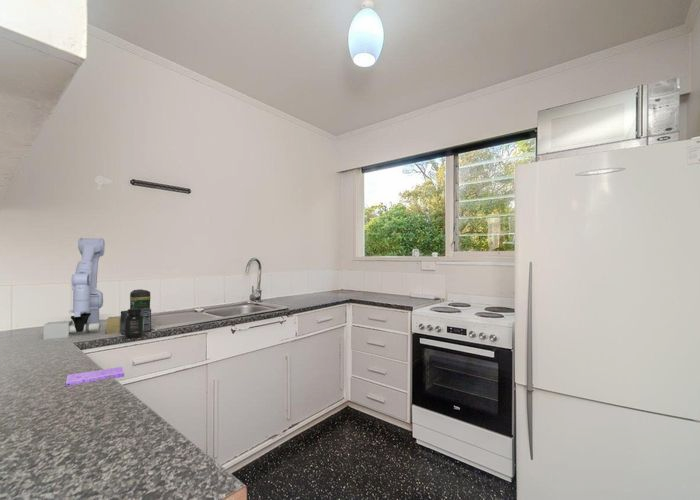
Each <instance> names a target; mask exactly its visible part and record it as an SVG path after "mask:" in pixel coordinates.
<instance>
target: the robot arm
mask: <svg viewBox="0 0 700 500" xmlns="http://www.w3.org/2000/svg"><path fill="white" fill-rule="evenodd" d="M105 247H106V241H105V239H104V238H89V237H88V238H86V237H80V238H78V241H77V248H78V250H79V253H80V255H81V260H79V261H77V265H76V268H75V271H74V274H72V276H71V280H70V281H71V289H72V310H69V311H68V313H70V314H71V313H72V314H73V315H70V319H71V321H73V325H75V329H76V332H75V333H83V330H84V325H85V324H86V323H90V324H94V323H100V309H101V308H102V307H103V306H104V294H103V292H102V291H101V290H99V289H97V287H98V286H97V284H98V272H99V271H98V269H99V260H100V257H103V256H104V254H105ZM100 326H102V323H100Z"/></svg>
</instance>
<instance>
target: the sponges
mask: <svg viewBox="0 0 700 500" xmlns="http://www.w3.org/2000/svg"><path fill="white" fill-rule="evenodd" d="M109 375H110V376H111V377H113V378H114V379H119V378H123V377H125V371H124V368H123V366H118V367H112V368H106V369H99V370H93V371H86V372H80V373H78V372H77V373H71V374H67V376H66V381H65V387H66V386H70V385H75V384H81V383H86V382H92V381H96V380H101V379H107V378H110V376H109ZM114 379H113V380H114ZM81 385H82V384H81Z"/></svg>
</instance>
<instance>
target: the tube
mask: <svg viewBox="0 0 700 500" xmlns="http://www.w3.org/2000/svg"><path fill="white" fill-rule="evenodd" d="M100 324H101V323H100V322H99V323H94V324H90V323H86V324H85V325H84V330H83V332H85V334H86V333H90V332H95V331H100V329H101V325H100ZM83 332H82V333H83ZM69 333H72V334H74V333H77V332H76V329H75V325H74V324H73V325H69Z"/></svg>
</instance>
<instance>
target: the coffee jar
mask: <svg viewBox="0 0 700 500" xmlns="http://www.w3.org/2000/svg"><path fill="white" fill-rule="evenodd" d="M129 301H130V302H129V309H132V308H141V309H144V308H147V309H151V291H149V290H147V289H146V290H145V289H134V290H132V291H131V292H130V293H129Z"/></svg>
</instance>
